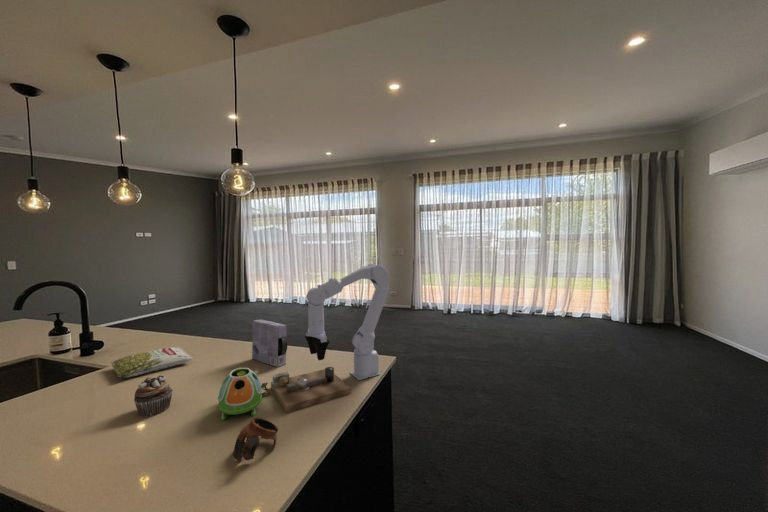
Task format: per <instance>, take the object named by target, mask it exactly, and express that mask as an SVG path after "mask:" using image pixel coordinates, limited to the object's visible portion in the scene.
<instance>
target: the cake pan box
mask: <svg viewBox="0 0 768 512" xmlns="http://www.w3.org/2000/svg"><path fill="white" fill-rule="evenodd" d="M251 342H252V344H251V345H252V347H251V348H252V349H251V358H252V359H251V360H255V361H257V362H261V363H262V364H265V363H266V365H269V364H270V366H273V367H276V368H280V367H282V365H283V366H286V364H287V362H286V361H287V351H288V339H287V325H286V324H282V323H278V322H276V321H275V322H274V321H269V320H266V319H262V318H261V319H256V320H252V340H251ZM279 366H280V367H279Z"/></svg>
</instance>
